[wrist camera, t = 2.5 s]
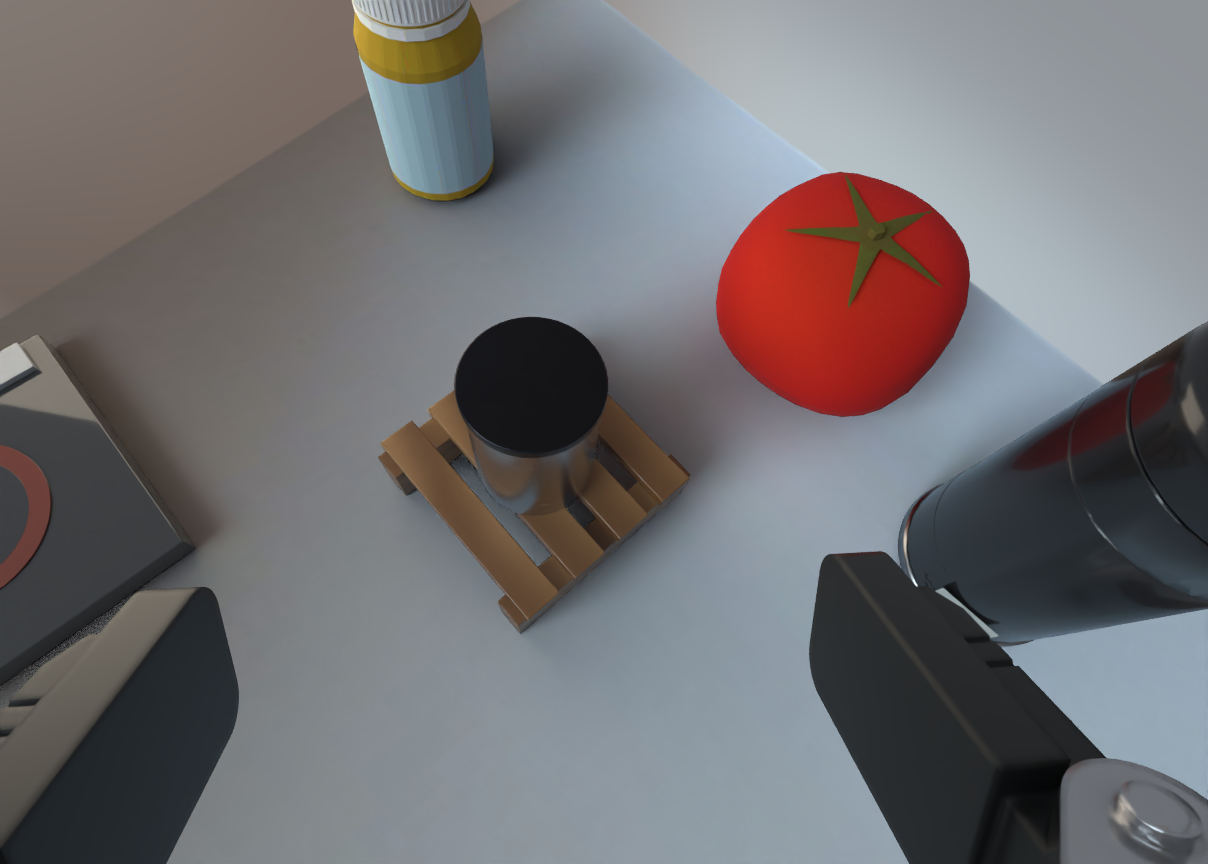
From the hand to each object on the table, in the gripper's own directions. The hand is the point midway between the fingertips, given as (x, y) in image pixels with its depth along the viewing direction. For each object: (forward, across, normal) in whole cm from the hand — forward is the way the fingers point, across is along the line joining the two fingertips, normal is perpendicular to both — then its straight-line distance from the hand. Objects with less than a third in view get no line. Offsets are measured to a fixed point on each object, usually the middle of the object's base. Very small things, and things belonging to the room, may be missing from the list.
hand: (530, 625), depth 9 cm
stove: (+27, +29, +13) cm, 42 cm away
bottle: (+45, +6, -5) cm, 46 cm away
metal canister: (+26, 0, +9) cm, 27 cm away
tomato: (+34, -18, +6) cm, 39 cm away
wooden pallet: (+28, 0, +12) cm, 31 cm away
